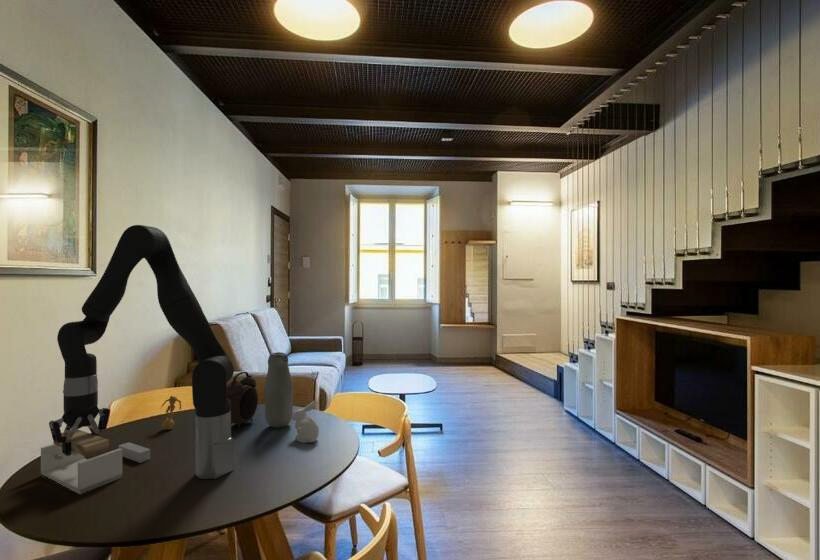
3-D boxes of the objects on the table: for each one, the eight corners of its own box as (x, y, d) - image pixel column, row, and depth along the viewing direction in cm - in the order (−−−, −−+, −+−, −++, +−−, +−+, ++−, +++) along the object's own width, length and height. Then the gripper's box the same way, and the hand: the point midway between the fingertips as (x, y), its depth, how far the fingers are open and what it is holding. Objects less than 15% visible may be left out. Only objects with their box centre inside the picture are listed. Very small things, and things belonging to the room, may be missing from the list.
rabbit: (289, 436, 142) (289, 403, 142) (314, 430, 148) (313, 397, 148) (304, 447, 132) (304, 411, 132) (329, 440, 138) (329, 405, 138)
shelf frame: (122, 477, 113) (122, 449, 113) (80, 494, 104) (80, 463, 104) (82, 461, 123) (82, 435, 123) (40, 475, 114) (40, 447, 114)
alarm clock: (238, 432, 146) (238, 377, 146) (221, 431, 147) (221, 376, 147) (261, 418, 160) (261, 368, 160) (245, 417, 162) (244, 368, 162)
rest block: (150, 458, 125) (150, 449, 125) (140, 462, 122) (140, 453, 122) (128, 451, 130) (128, 442, 130) (118, 455, 127) (118, 445, 127)
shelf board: (109, 448, 112) (109, 439, 112) (85, 456, 107) (85, 447, 107) (76, 437, 120) (76, 428, 120) (53, 443, 115) (53, 435, 115)
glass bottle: (295, 421, 157) (295, 350, 157) (288, 431, 147) (288, 355, 147) (269, 421, 157) (269, 350, 157) (261, 431, 147) (260, 355, 147)
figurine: (153, 430, 148) (153, 398, 148) (165, 425, 154) (165, 393, 154) (174, 431, 147) (174, 399, 147) (185, 426, 153) (185, 394, 153)
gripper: (55, 399, 105) (55, 464, 105) (116, 386, 118) (116, 444, 118) (42, 396, 109) (42, 458, 109) (102, 383, 122) (102, 439, 122)
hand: (81, 450), depth 113 cm, fingers closed on shelf board, 5 cm apart
